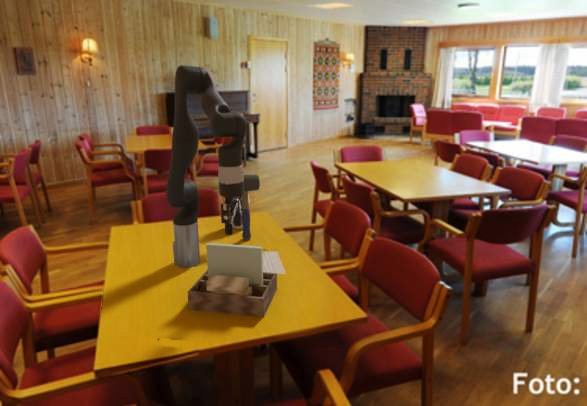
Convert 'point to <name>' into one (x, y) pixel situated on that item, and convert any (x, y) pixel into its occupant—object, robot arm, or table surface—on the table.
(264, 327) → the table surface
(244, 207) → the rubber mallet
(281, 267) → the baseboard molding
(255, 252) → the tall sheet
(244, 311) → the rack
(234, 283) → the offcut top
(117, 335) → the table surface
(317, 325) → the table surface
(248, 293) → the offcut middle
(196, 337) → the table surface
